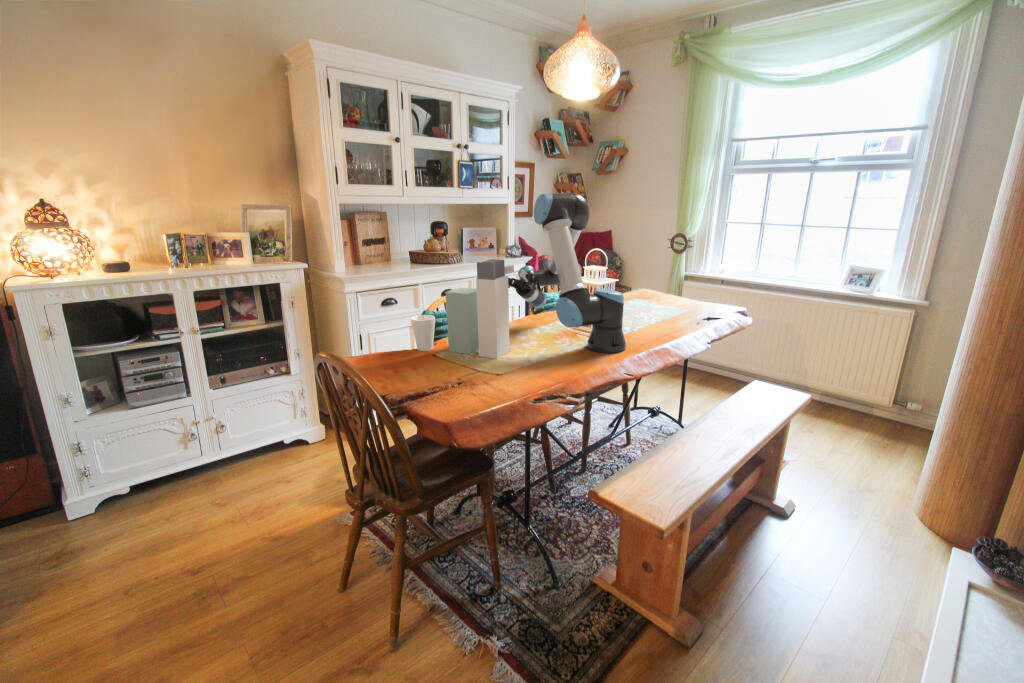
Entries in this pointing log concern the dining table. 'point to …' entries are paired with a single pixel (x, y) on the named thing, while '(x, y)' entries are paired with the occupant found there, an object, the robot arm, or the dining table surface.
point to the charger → (501, 267)
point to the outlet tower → (492, 312)
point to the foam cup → (423, 331)
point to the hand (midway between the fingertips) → (506, 271)
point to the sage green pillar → (462, 320)
